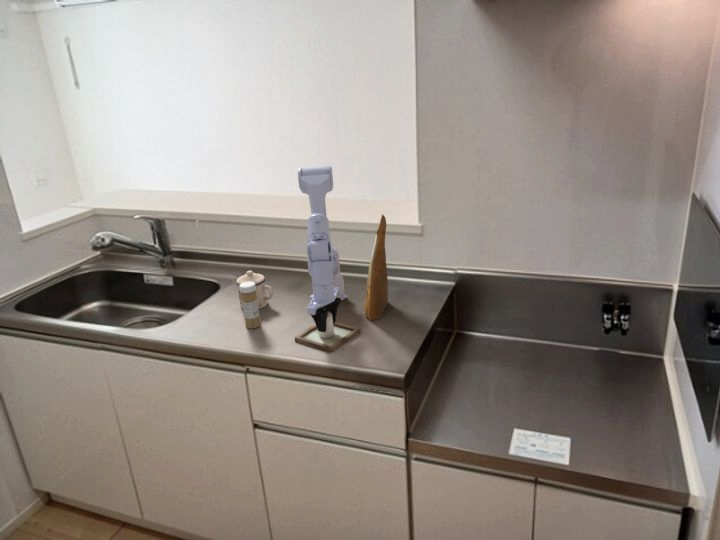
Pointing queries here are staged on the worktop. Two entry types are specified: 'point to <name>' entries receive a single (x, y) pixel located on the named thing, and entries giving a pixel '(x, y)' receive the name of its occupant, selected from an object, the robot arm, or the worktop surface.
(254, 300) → the sprinkles bottle
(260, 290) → the teacup with lid
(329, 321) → the salt cellar
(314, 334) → the rest tray
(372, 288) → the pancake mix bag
